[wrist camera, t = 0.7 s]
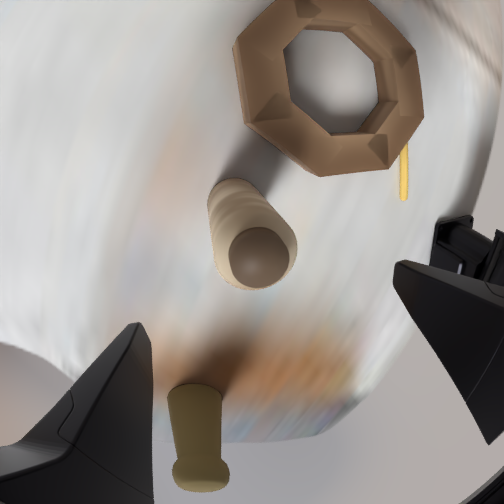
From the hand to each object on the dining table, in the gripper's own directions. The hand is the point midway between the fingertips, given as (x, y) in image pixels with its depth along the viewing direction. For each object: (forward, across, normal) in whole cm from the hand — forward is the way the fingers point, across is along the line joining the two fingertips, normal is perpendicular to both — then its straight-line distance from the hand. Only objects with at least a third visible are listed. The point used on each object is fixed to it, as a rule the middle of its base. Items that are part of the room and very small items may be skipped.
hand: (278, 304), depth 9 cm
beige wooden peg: (+12, 0, 0) cm, 12 cm away
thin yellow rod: (+12, -14, -2) cm, 18 cm away
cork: (+12, +8, +20) cm, 24 cm away
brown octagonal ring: (+12, -8, -8) cm, 16 cm away
